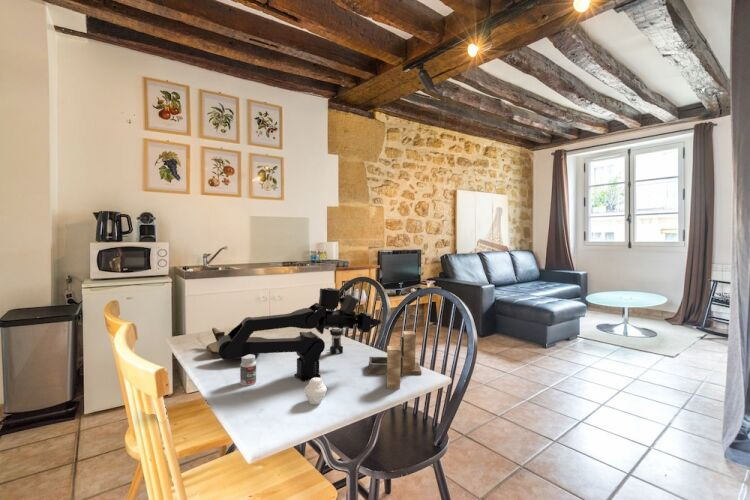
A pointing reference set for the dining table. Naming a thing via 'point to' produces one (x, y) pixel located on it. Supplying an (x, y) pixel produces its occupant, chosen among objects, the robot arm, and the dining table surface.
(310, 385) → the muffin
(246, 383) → the pill bottle
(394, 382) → the oak finger
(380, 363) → the wooden pillar stand
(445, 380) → the dining table surface
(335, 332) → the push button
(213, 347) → the oil lamp
